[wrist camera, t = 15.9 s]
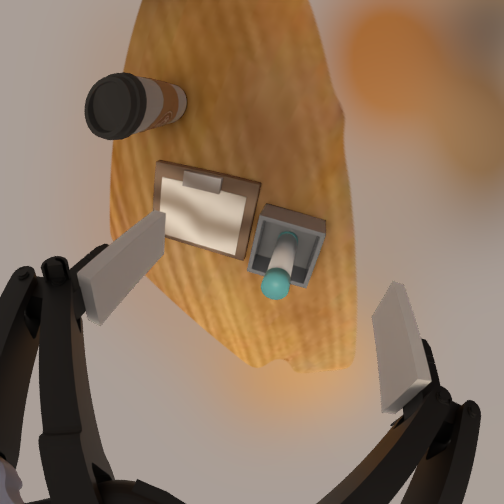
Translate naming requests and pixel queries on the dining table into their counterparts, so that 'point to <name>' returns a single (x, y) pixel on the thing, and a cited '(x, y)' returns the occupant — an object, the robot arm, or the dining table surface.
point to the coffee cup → (131, 105)
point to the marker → (280, 267)
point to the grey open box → (307, 248)
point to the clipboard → (206, 207)
